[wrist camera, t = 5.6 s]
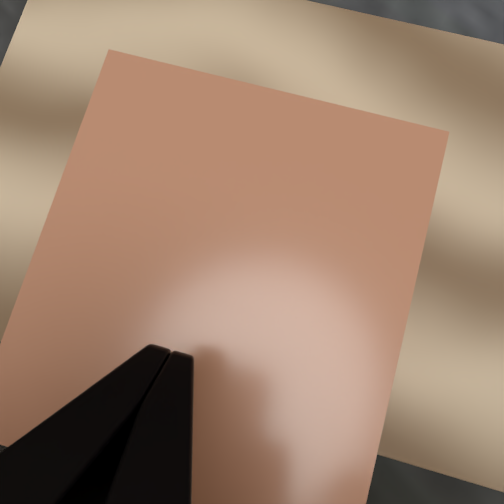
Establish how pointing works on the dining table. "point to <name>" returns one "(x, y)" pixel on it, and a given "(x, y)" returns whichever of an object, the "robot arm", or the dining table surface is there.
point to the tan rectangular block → (231, 273)
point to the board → (329, 90)
